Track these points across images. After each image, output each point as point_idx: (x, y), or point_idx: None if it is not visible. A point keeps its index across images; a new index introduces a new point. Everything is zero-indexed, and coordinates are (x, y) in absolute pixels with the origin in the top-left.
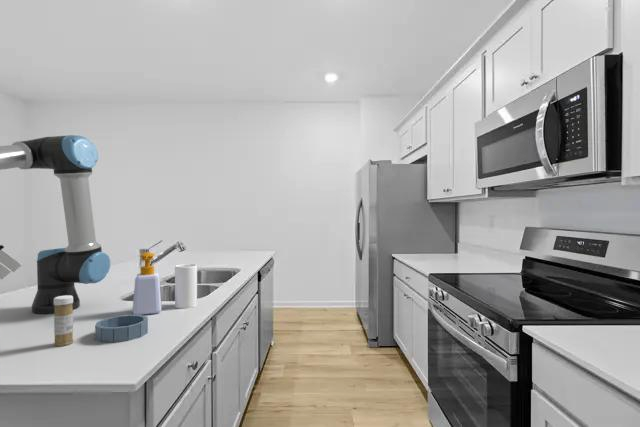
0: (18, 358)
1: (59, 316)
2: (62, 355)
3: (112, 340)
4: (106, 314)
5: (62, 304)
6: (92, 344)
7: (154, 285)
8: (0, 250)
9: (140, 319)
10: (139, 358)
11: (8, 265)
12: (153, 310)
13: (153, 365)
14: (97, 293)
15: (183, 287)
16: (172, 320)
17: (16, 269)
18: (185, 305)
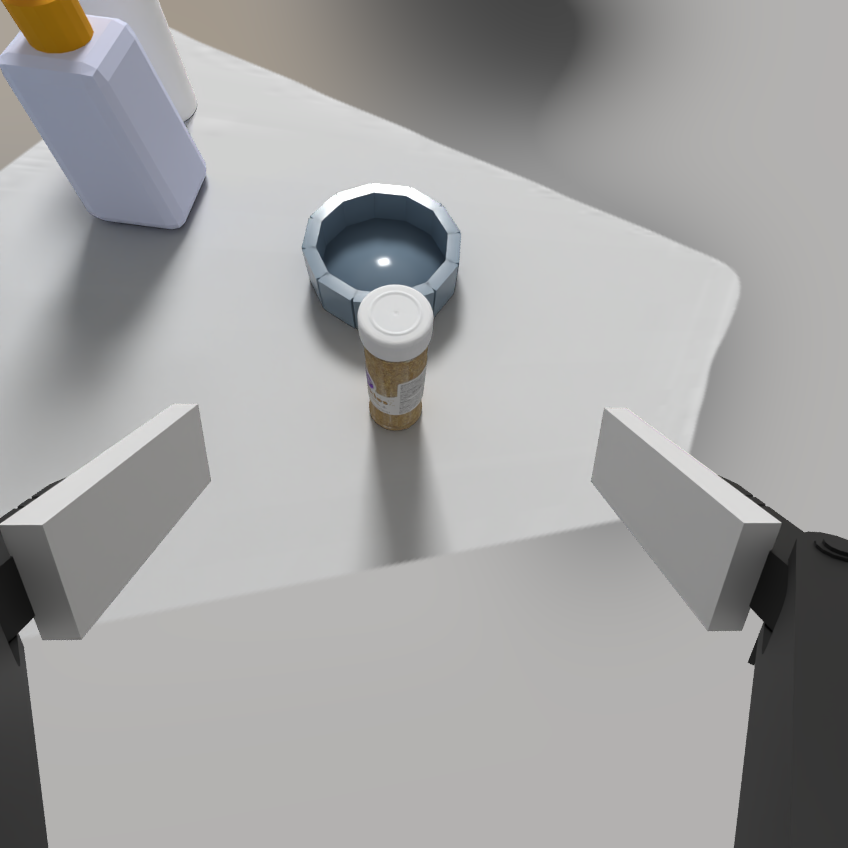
0: (481, 513)
1: (425, 367)
2: (508, 403)
3: (452, 291)
4: (84, 300)
5: (432, 330)
6: (443, 339)
7: (151, 75)
8: (53, 537)
9: (356, 205)
10: (607, 253)
11: (177, 499)
12: (201, 174)
13: (662, 236)
14: None
15: (156, 32)
16: (315, 158)
17: (204, 454)
18: (190, 102)
